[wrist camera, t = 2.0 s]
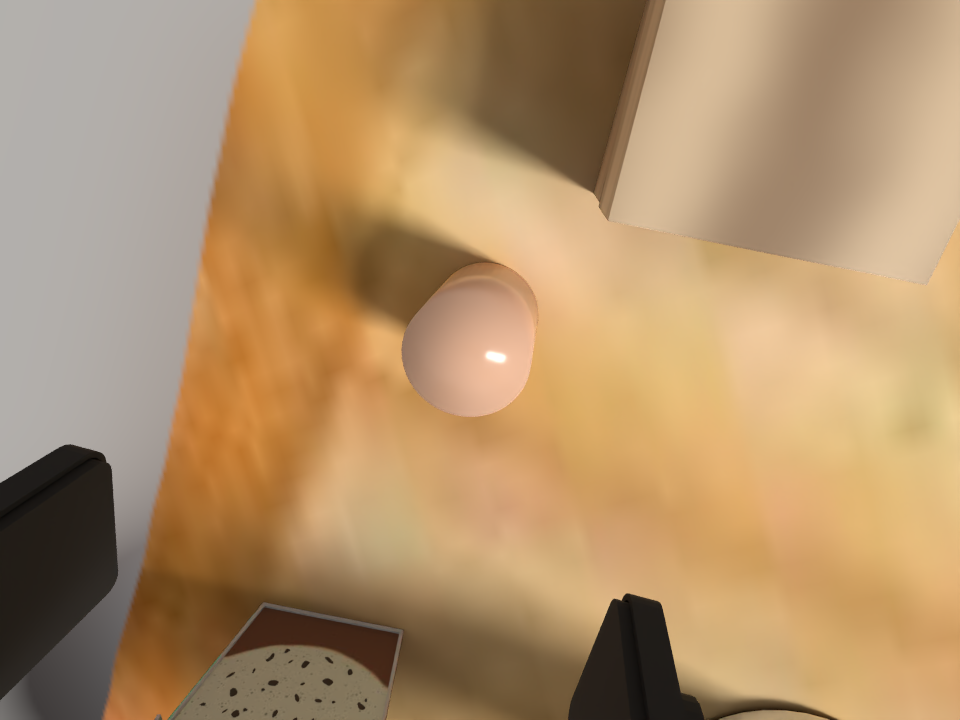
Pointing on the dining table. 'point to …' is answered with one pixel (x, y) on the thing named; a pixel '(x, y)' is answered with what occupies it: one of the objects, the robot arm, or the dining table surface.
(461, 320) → the pink rounded capsule
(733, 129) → the tower top
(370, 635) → the food container
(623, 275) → the dining table surface
